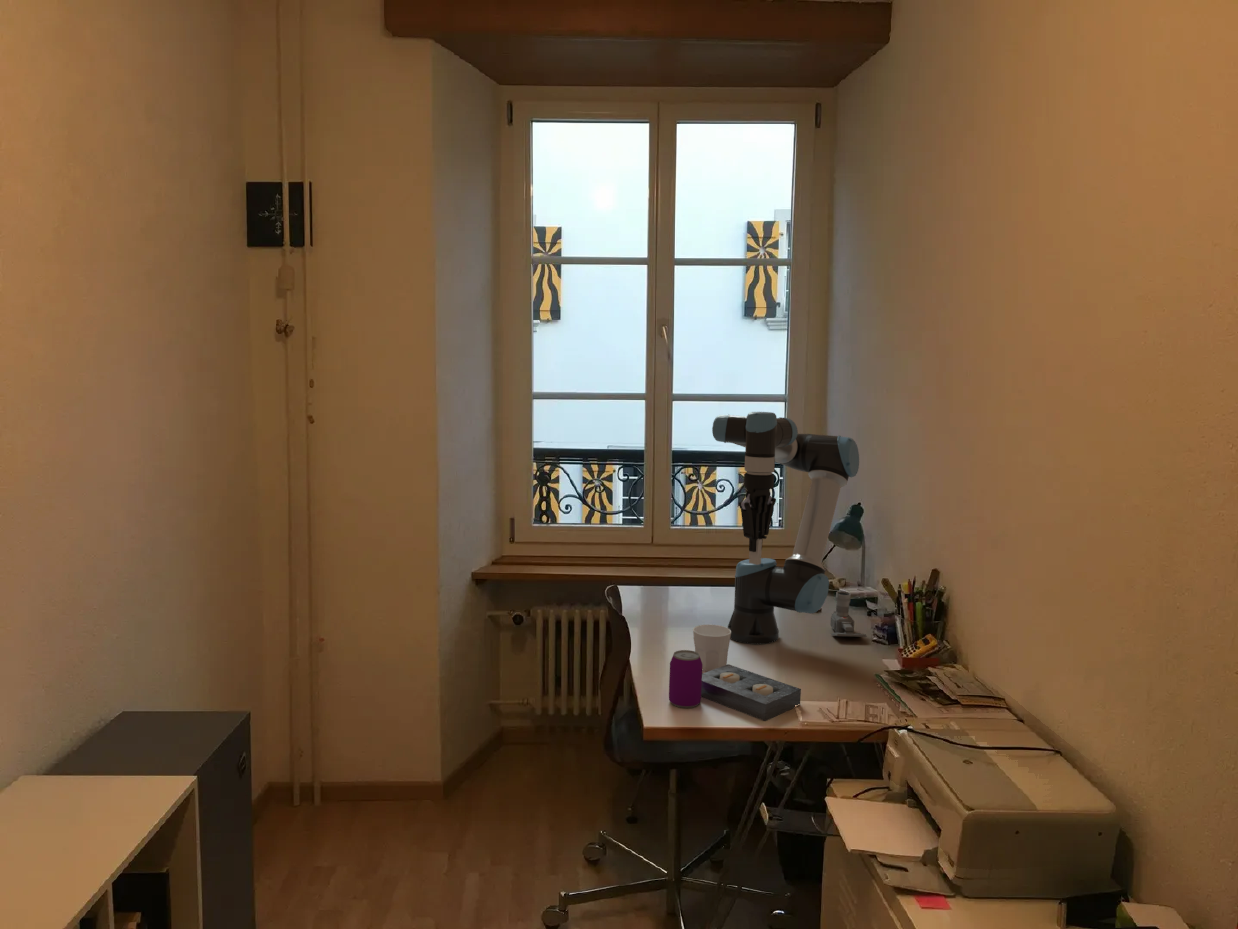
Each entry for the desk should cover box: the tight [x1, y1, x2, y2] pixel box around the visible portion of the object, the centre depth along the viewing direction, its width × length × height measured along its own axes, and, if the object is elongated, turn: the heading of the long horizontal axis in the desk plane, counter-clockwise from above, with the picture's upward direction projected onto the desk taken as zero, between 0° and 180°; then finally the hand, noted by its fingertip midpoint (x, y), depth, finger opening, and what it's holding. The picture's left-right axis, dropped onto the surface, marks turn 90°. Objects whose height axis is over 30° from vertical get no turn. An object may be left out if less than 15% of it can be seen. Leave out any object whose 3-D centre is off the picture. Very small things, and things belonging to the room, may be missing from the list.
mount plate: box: [701, 663, 802, 722], centre depth 211 cm, size 14×22×4 cm, turn 44°
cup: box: [692, 624, 731, 672], centre depth 232 cm, size 10×10×10 cm
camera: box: [830, 590, 867, 638], centre depth 262 cm, size 9×12×15 cm
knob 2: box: [752, 684, 773, 696], centre depth 207 cm, size 5×5×4 cm
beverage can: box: [668, 649, 703, 709], centre depth 207 cm, size 8×8×12 cm
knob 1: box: [720, 672, 740, 684], centre depth 214 cm, size 5×5×4 cm
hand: (754, 563), depth 225 cm, fingers closed
